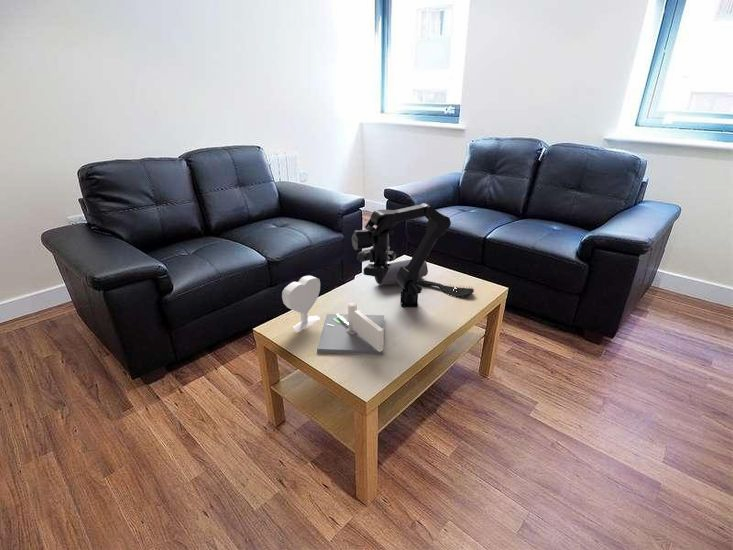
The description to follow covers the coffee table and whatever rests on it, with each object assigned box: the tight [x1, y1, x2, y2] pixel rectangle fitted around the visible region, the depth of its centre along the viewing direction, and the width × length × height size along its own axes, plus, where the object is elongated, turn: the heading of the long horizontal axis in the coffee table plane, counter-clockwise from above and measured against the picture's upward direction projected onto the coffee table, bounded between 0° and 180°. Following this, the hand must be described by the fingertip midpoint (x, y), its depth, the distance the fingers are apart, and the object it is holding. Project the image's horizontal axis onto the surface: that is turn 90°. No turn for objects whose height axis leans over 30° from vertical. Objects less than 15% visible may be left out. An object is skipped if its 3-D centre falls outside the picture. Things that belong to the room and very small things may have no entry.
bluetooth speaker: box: [374, 259, 429, 286], centre depth 172 cm, size 23×9×10 cm, turn 113°
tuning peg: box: [336, 302, 385, 352], centre depth 133 cm, size 28×3×10 cm, turn 34°
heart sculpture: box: [281, 275, 321, 332], centre depth 140 cm, size 16×5×18 cm, turn 143°
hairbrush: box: [417, 280, 475, 298], centre depth 167 cm, size 8×4×25 cm
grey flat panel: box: [316, 313, 385, 355], centre depth 138 cm, size 22×22×2 cm
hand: (380, 283), depth 148 cm, fingers closed
